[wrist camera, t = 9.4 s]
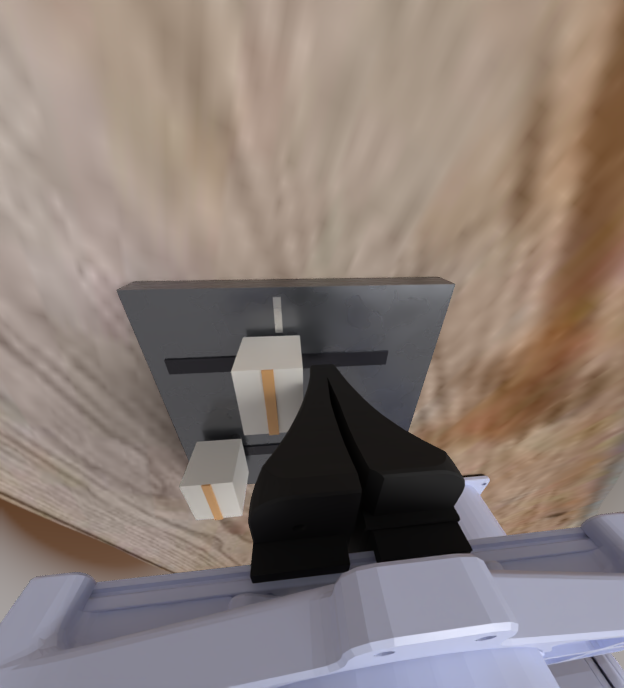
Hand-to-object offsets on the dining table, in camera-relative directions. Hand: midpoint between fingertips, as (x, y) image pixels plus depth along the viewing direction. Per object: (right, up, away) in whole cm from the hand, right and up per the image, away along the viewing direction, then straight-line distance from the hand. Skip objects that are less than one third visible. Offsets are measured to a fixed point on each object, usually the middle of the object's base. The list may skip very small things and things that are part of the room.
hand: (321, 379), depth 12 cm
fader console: (-2, -2, +5) cm, 5 cm away
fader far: (-7, -6, +5) cm, 11 cm away
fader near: (-3, +1, +1) cm, 3 cm away
